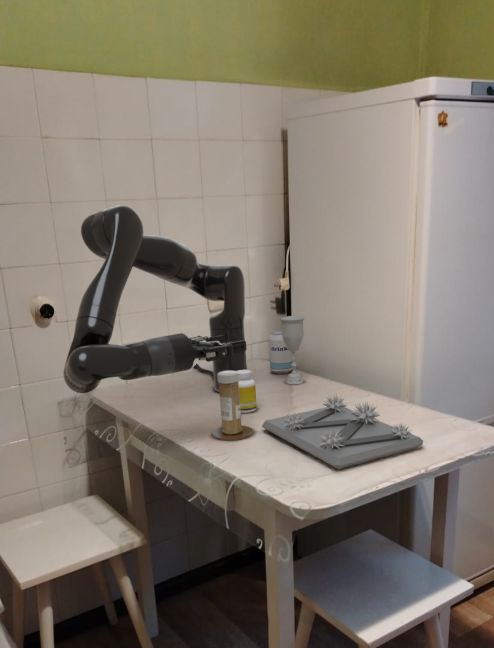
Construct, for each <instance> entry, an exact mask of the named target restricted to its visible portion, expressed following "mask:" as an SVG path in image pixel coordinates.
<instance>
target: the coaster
mask: <svg viewBox="0 0 494 648" xmlns="http://www.w3.org/2000/svg"><path fill="white" fill-rule="evenodd" d="M222 429H223V427H222V426H221V427H218V428H215V429H214V430H213V431H212V437H213V438H214V439H216V440H220V441H227V442H229V441H231V442H232V441H241V440H245V439H247V438H249V437H251V436H253V434H254V429H253V428H252V427H250V426H247V425H242V432H240V433H238V434H232V435H230V434H225V433H223V432H222Z"/></svg>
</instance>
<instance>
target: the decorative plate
mask: <svg viewBox="0 0 494 648" xmlns="http://www.w3.org/2000/svg"><path fill="white" fill-rule="evenodd" d="M326 399H327V400H326V401H322V402H323V403H322V406H325V407H321V408H316V409H311V410H308V411H303V412H298V413H296V412H295V413H292V414H288V415H285V416H279V417H275V418H270V419H266V420H265V421H264V422H263V423H262V425H261V428H263V429H264V430H265V431H267V432H269V433H271V434H273V435H275V436H276V437H278V438H280V439H282V440H284V441H285V442H287V443H289V444H291V445H293V446H294V447H296V448H299V449H300V450H302V451H303V452H306V453H308V454H309V455H311V456H313V457H315V458H317V459H319V460H320V461H322V462H323V463H326V464H328V465H329V466H331V467H333V468H335V469H337V470H342V469H345V468H348V467H352V466H356V465H361V464H363V463H367V462H372V461H374V460H378V459H379V460H380V459H382V458H386V457H389V456H394V455H397V454H401V453H404V452H408V451H412V450H416V449H419V448H420V447H422V446H423V444H424V440H423V439H422V438H421V437H420V436H418V435H415V434H412V430H411V429H410V430H409V427H410V426H407V424H404V425H403V424H402V423H399V424H398V425H395V424H394V425H393V424H392V425H390V424H388V423H385V422H383V421H380V419H378V417H380V416H382V415H380V413H381V411H376V409H377V407H378V406H377V405H376V406H374V403H372V404H370V405H369V404H368V402H362V405H361V404H360V403H358V404H357V405H356V404H354V405H355V408H356V409H355V408H354V409H350V408H349V407H347V404H348V402H343V401H344V400H345V398H344V397H342V396H340V397H338V395H337V393H336V394H334V395H332V397H331V396H329V397H326Z"/></svg>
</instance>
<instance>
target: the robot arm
mask: <svg viewBox="0 0 494 648" xmlns="http://www.w3.org/2000/svg"><path fill="white" fill-rule="evenodd" d="M80 235H81V238H82V241H83V243H84V245H85V246H86V248H87V249H88V250H89V251H90V252H91V253H93V254H94V255H95V256H97V257H99V258H101V259H104V261H103V264H102V265H101V267H100V269H99V270H98V272H97V273H96V275H95V276H94V278H93V279H92V280H91V282H90V283H89V285H88V287H87V288H86V289H85V292H84V293H83V295H82V298H81V301H80V303H79V307H78V312H77V314H76V315H77V316H76V320H75V325H74V331H73V332H74V333H73V337H72V341H71V344H70V347H69V351H68V353H67V357H66V361H65V363H64V366H63V380H64V382H65V384H66V386H67V387H68V388H69V389H70V390H71V391H73V392H75V393H78V394H88V393H91V392H92V391H94V390H96V389H97V388H98V387H99V385H100V383H101V382H102V380H106V379H109V378H119V379H120V380H121V381H132V380H138V379H143V378H148V377H159V376H166V375H170V374H176V373H180V372H181V373H182V372H185V371H189V370H191V369H192V368H193V369H197V370H198V371H199V372H202V373H206V374H208V375H211V376H212V377H213V382H214V383H213V385H214V386H213V389H214V391H215V392H217V393H219V384H218V383H219V382H218V379H217V374H218V373H219V372H222V371H238V370H248V366H247V348H248V347H247V341H246V337H245V335H246V334H245V317H246V315H245V314H246V303H245V302H246V299H245V297H246V294H245V293H246V292H245V291H246V290H245V289H246V287H245V277H244V273H243V270H242V269H241V268H240V266H238V265H235V264H206V263H202V262H200V261H198V259H197V255H196V253H195V252H194V251H193V250H192V249H191V248H190V247H189V246H187V245H185V244H183V243H181V242H180V241H177V240H176V239H173V238H170V237H166V236H160V235H153V234H144V224H143V221H142V218H141V217H140V215H139V213H138V212H137V211H136V210H135V209H134V208H133V207H132V206H130V205H126V204H118V205H115V206H110V207H108V208H105V209H102V210H98V211H95V212H93V213H91V214H90V215H88V216H87V217H86V218H84V219H83V221H82V222H81V226H80ZM133 268H135V269H137V270H140V271H143V272H144V273H147V274H150V275H153V276H155V277H157V278H159V279H162V280H163V281H167V282H168V283H171V284H175V285H177V286H180V287H183V288H186V289H189V290H191V291H192V292H194V293H196V294H197V295H199V296H201V297H202V298H204V299H205V300H208V301H211V302H223V309H222V310H221V311H220V312H219V313H216V314H214V315H211V316H210V317H209V319H208V324H209V335H210V336H207V335H206V336H202V335H198V336H193V337H189V336H188V335H187V334H185V333H183V332H181V333H175V334H174V333H173V334H168V335H163V336H155V337H151V338H147V339H144V340H140V341H134V342H129V343H128V342H127V343H123V344H116V343H115V344H114V343H111V340H112V337H113V333H114V328H115V324H116V319H117V314H118V309H119V305H120V301H121V298H122V295H123V293H124V290H125V287H126V285H127V283H128V279H129V277H130V275H131V273H132V269H133ZM196 359H197V360H198V361H206V362H207V363H208V362H209V363H210V362H212V370H213V371H212V370H210V369H206V368H202V367H201V366H200V365H199V364H198V363H194V362H195V360H196ZM195 364H196V365H195ZM194 365H195V366H194Z"/></svg>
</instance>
